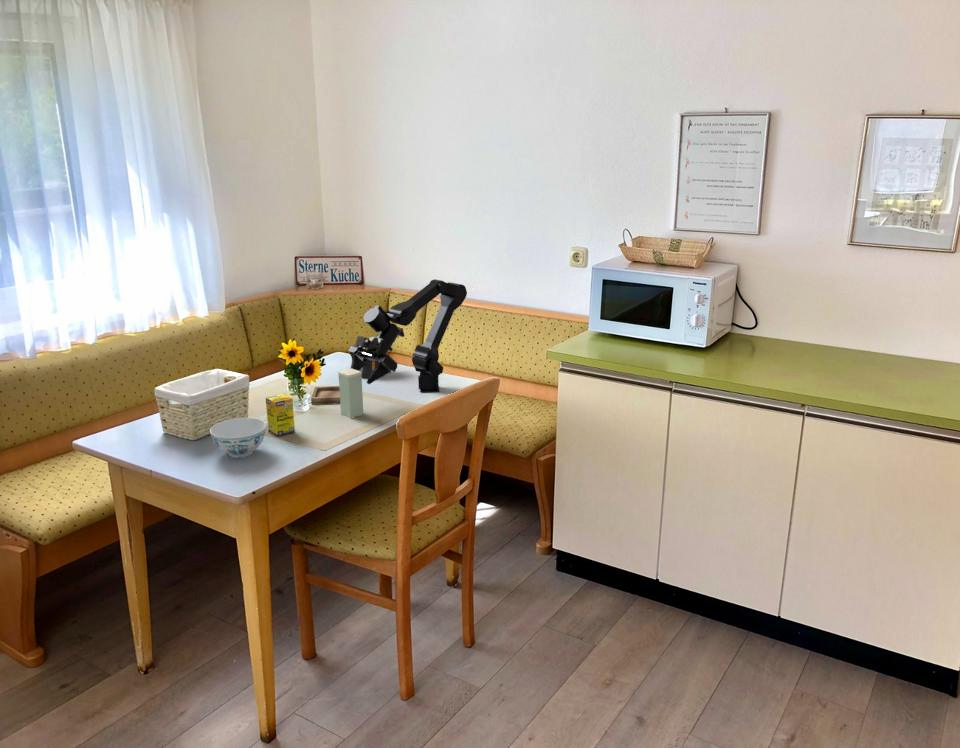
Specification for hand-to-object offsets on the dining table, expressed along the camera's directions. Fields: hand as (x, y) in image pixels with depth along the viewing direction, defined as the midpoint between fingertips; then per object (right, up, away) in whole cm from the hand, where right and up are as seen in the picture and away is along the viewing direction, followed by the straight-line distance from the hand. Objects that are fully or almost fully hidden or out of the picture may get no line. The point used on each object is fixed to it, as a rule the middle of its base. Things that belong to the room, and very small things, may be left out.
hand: (358, 380), depth 249 cm
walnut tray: (-12, -6, +16) cm, 21 cm away
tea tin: (-2, -11, +1) cm, 11 cm away
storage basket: (-45, -14, -8) cm, 48 cm away
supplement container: (-2, +1, +40) cm, 40 cm away
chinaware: (-29, -20, -28) cm, 45 cm away
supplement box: (-21, -16, -13) cm, 29 cm away
